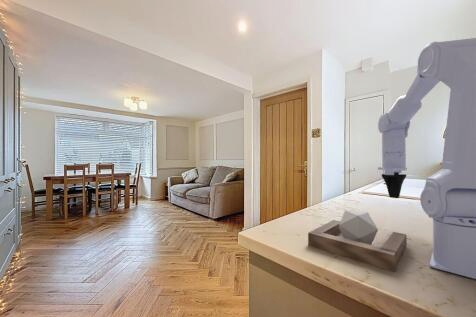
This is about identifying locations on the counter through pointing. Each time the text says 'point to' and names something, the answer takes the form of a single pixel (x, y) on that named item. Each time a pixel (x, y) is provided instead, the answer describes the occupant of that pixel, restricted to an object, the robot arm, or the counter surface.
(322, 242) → the pocket
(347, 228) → the die
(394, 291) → the counter surface
